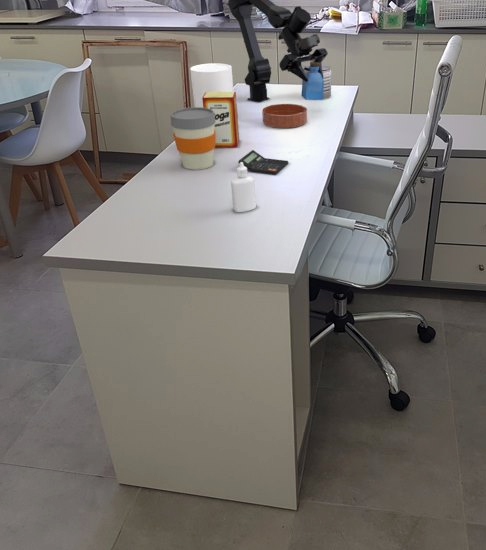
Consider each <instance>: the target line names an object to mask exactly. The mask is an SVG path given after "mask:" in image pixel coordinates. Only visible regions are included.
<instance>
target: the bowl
mask: <svg viewBox="0 0 486 550" xmlns="http://www.w3.org/2000/svg"><path fill="white" fill-rule="evenodd" d="M261 114H262V115H261V116H262V123H263V124H264V125H265V126H266V127H267V126H268V127H271V128H276V129H277V128H278V129H291V128H297V127H300V126H301V127H302V126H303V125H305V124H306V123H308V122H307V121H308V108H307V107H306V106H304V105H302V104H298V103H297V104H296V103H276V104H270V105H267V106H265V107H263V108H262V110H261Z"/></svg>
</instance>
